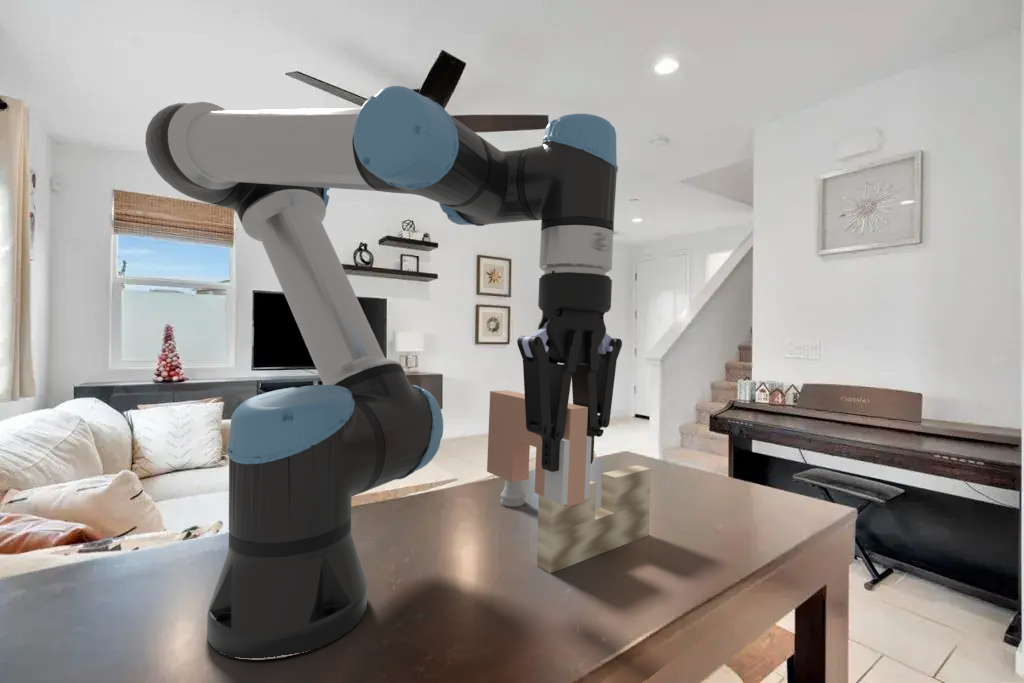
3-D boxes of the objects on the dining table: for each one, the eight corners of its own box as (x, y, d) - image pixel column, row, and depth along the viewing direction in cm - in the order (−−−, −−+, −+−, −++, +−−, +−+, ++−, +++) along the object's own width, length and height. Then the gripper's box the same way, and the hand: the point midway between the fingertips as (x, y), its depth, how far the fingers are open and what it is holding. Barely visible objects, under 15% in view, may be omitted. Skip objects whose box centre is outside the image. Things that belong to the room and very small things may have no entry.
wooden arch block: (583, 502, 52) (587, 407, 52) (566, 506, 50) (570, 409, 50) (503, 468, 63) (506, 390, 63) (486, 471, 61) (490, 391, 61)
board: (550, 573, 62) (551, 493, 62) (537, 565, 64) (538, 488, 64) (649, 535, 74) (650, 468, 74) (635, 529, 76) (636, 465, 76)
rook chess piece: (530, 502, 88) (530, 457, 88) (516, 509, 84) (517, 462, 84) (508, 497, 90) (509, 453, 90) (494, 504, 86) (495, 458, 86)
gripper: (543, 262, 44) (533, 526, 44) (651, 278, 53) (642, 494, 54) (493, 268, 50) (485, 501, 50) (599, 282, 59) (591, 477, 60)
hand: (566, 497), depth 52 cm, fingers closed on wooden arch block, 2 cm apart
